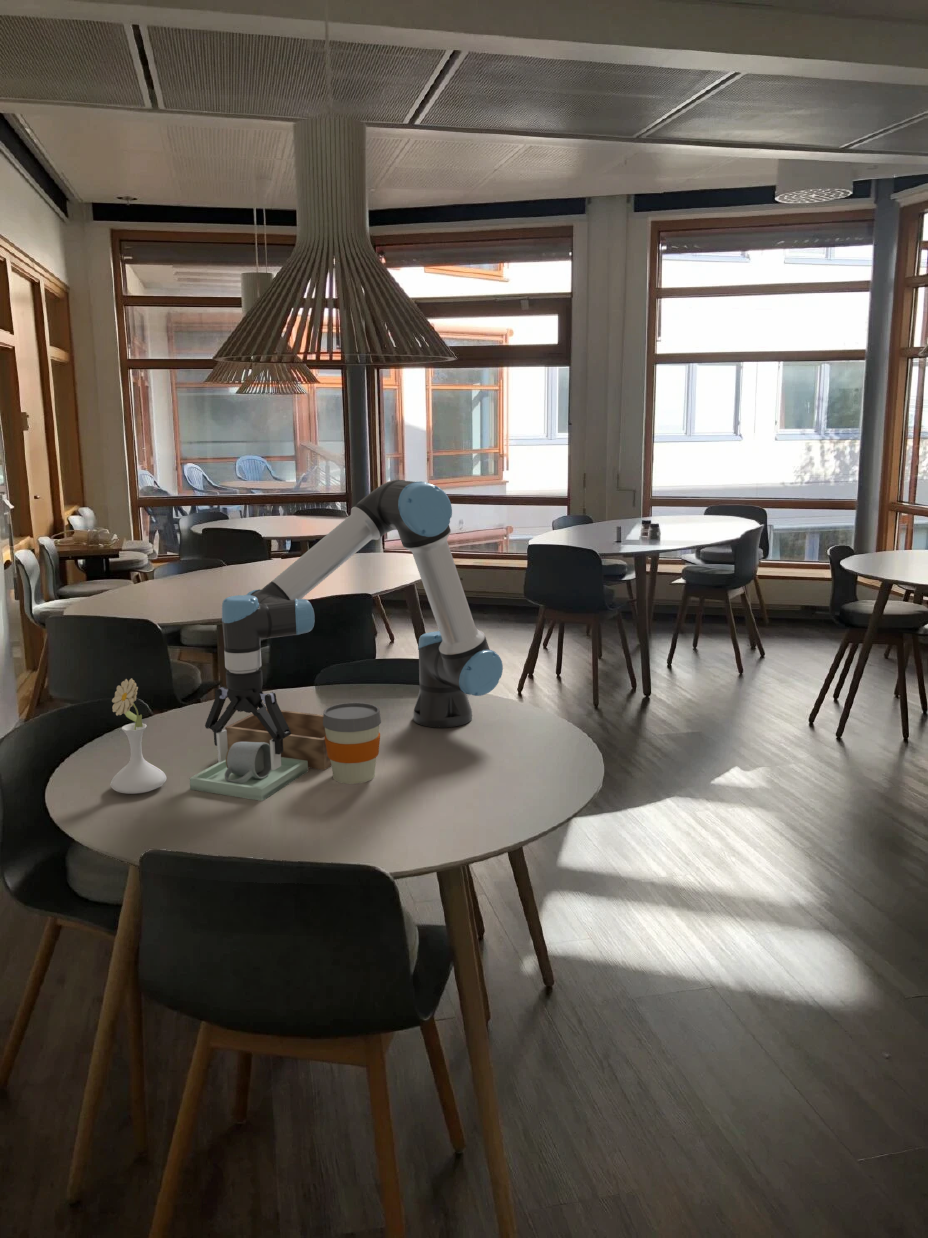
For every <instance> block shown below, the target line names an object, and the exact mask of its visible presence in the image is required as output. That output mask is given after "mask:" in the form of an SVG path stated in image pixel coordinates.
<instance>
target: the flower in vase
mask: <svg viewBox="0 0 928 1238" xmlns="http://www.w3.org/2000/svg"><path fill="white" fill-rule="evenodd" d="M138 689H139V686H137V683H136V682H135V680H134V679H133V678H130V679H129V680H128V679H127V678H125V679H124V680H123V681H121V682H120V685H117V686H116V691H115V692H114V697H113V698H112V699H111V702H112V703H113V705H112V712H113V713H115V715H116V716H121V715H122V714H124V715H125V717H126V718H127V719H129V720H131V721H132V722H135V723H129V724H125V725H123V726H121V730H122V731H123V733H125V735H126V736H127V739H128V742H129V749H130V759H129V761H128V763H127V764H126V765H125V766H123V767H122V768H121V769H120V770H119V771H118V772H117V773H116V774H115V775H114V776H113V777H112V779H111V780H110V781H111V782H110V787H111V789H113V790H114V792H115V791H116V792H117V793H122V794H127V795H128V794H129V795H130V794H131V795H132V794H135V795H136V794H144V793H148V792H152V791H153V790H156V789H159V788H161V787H162V786H163V785H164V784H165V783H166V781H167V779H168V778H167V775H166V773H165V772H164V771H163V770H161V769H160V768H159V767H157V766H155V765H153V764H152V763H150V762H149V761H147V760H146V759H145V758H144V756H143V751H142V739H143V735H144V734H143V733H144V731H145V730H146V728H147V724H146V723H143V719H142V718H143V715H142V714H140V715H139V711H138V708H137V706H136V705H135V703H134V702H135V701H137V696H138V691H139V690H138ZM131 707H133V709H135V712H136V714H135V713H133V712H132V711H130V709H131Z"/></svg>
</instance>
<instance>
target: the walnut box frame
mask: <svg viewBox="0 0 928 1238" xmlns="http://www.w3.org/2000/svg"><path fill="white" fill-rule="evenodd" d="M266 710H267V707H266ZM280 710H281V712H282V714H283V716H284V718H285V721H286V723H287V725H288V727H289V729H290V731H291V735H289V736H287V737H285V738H284V739H283V753H281V757H284V758H292V759H299V760H306V761H308V769H313V770H314V769H315V770H320V771H325V770H327V769H328V768H330V767H332V766H331V761H330V759H329V758H328V755H327V749H326V743H325V735H326V732H325V727H324V726H323V714H317V713H310V712H309V713H307V712H300V711H292V710H283V709H280ZM267 712H268V710H267ZM268 713H269V712H268ZM224 727H225V728H224V730H227V743H228V749H229V748H230V746H231V745H232V744H234V743H236V742H265V743H268V744H269V745H270V740H272V739H273V738H272V737H271V735H270V734H269V733H268V731H267V730H266V729H265V727H264V726H263V725H262V723H261V722H260V720H259V719H258V718H257V716H254V715H253V713H252V714H251V713H250V715H247V716H245V717H243V718H241V719H239V720H237V721H235V722H233V723H231V724H229V725H227V726H224Z"/></svg>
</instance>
